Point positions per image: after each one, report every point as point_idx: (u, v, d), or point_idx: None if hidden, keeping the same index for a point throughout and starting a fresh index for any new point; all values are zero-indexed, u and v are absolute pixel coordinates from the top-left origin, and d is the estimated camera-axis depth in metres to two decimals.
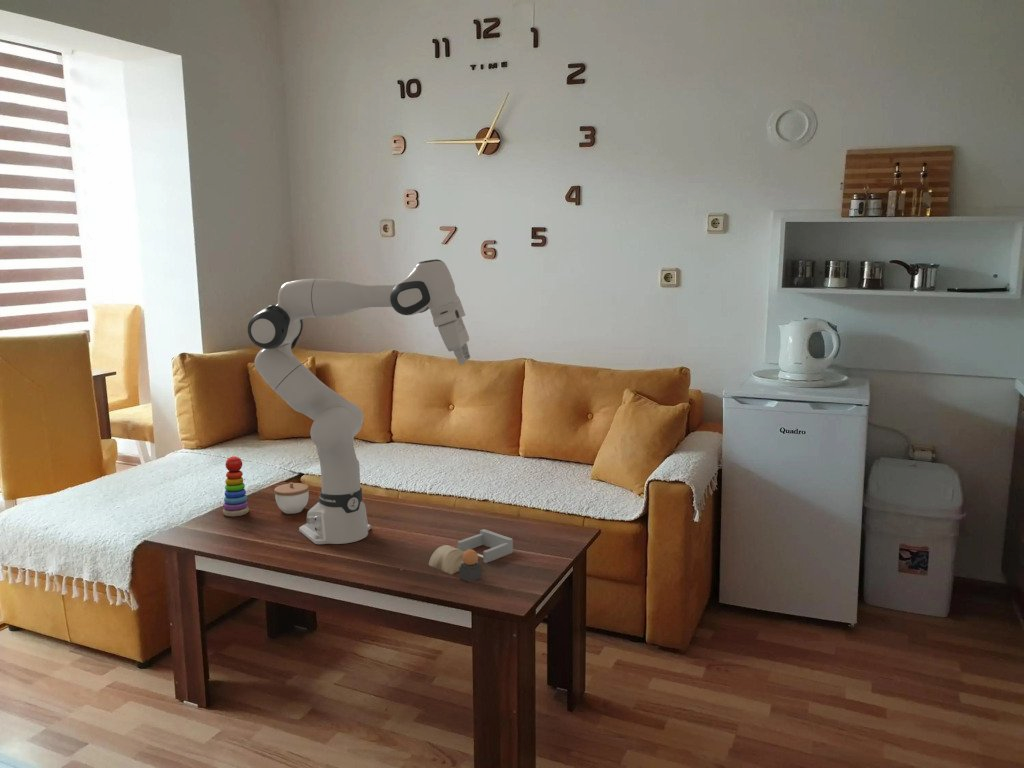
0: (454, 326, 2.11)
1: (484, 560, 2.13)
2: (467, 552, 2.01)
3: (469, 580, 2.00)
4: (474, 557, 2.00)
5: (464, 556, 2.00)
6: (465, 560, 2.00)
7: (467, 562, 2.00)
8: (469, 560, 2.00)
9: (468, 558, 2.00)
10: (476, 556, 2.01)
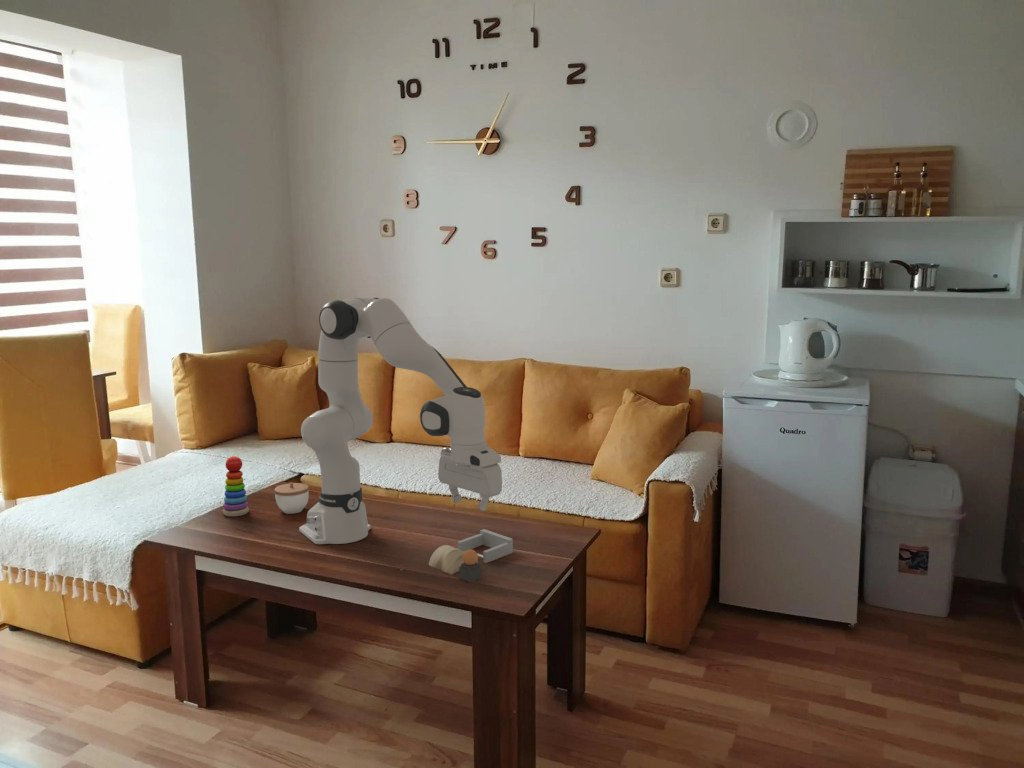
0: (500, 470, 1.93)
1: (484, 560, 2.13)
2: (467, 552, 2.01)
3: (469, 580, 2.00)
4: (474, 557, 2.00)
5: (464, 556, 2.00)
6: (465, 560, 2.00)
7: (467, 562, 2.00)
8: (469, 560, 2.00)
9: (468, 558, 2.00)
10: (476, 556, 2.01)
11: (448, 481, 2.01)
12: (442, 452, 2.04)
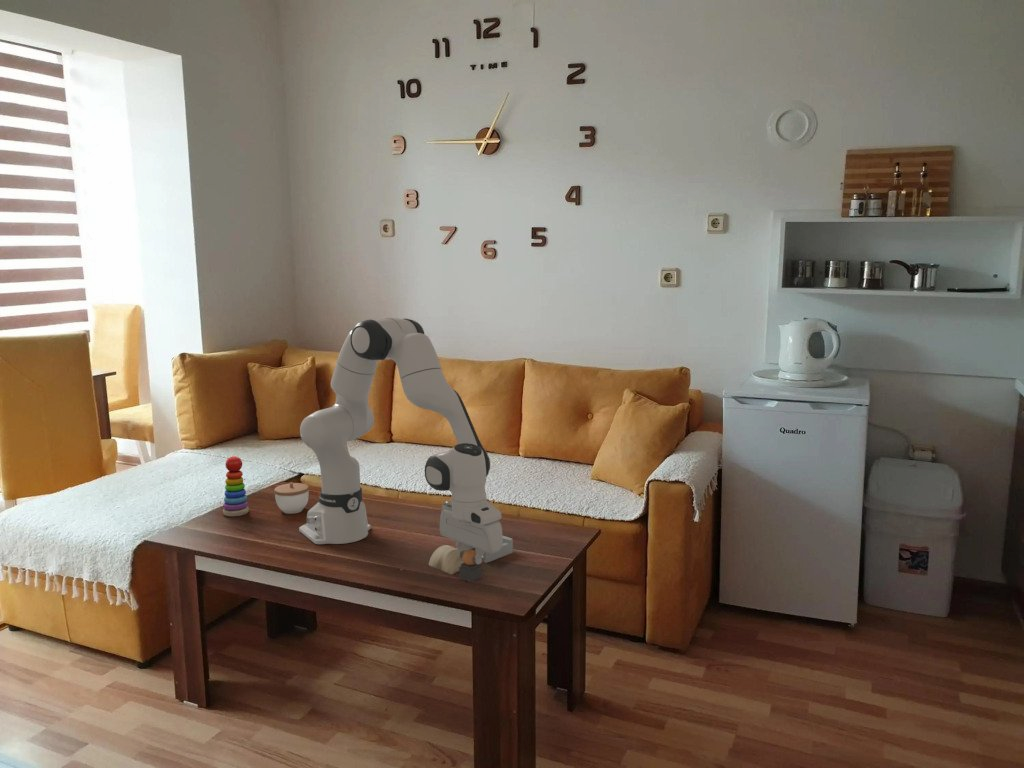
0: (501, 527, 1.95)
1: (484, 560, 2.13)
2: (467, 552, 2.01)
3: (469, 580, 2.00)
4: None
5: (464, 556, 2.00)
6: (465, 560, 2.00)
7: (467, 562, 2.00)
8: (469, 560, 2.00)
9: (468, 558, 2.00)
10: None
11: (449, 536, 2.04)
12: (443, 506, 2.06)
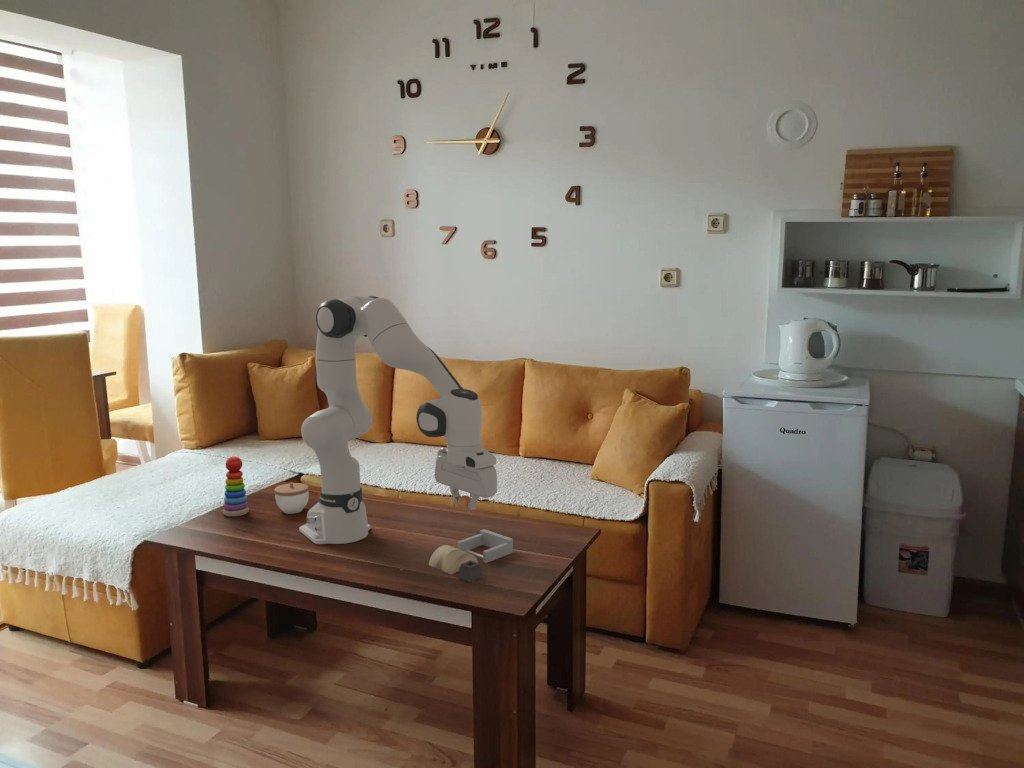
0: (495, 471, 1.95)
1: (484, 560, 2.13)
2: (462, 498, 2.01)
3: (469, 580, 2.00)
4: None
5: (459, 502, 2.00)
6: (460, 506, 2.00)
7: (462, 507, 2.00)
8: (463, 505, 2.00)
9: (463, 504, 2.00)
10: None
11: (444, 482, 2.04)
12: (439, 452, 2.06)
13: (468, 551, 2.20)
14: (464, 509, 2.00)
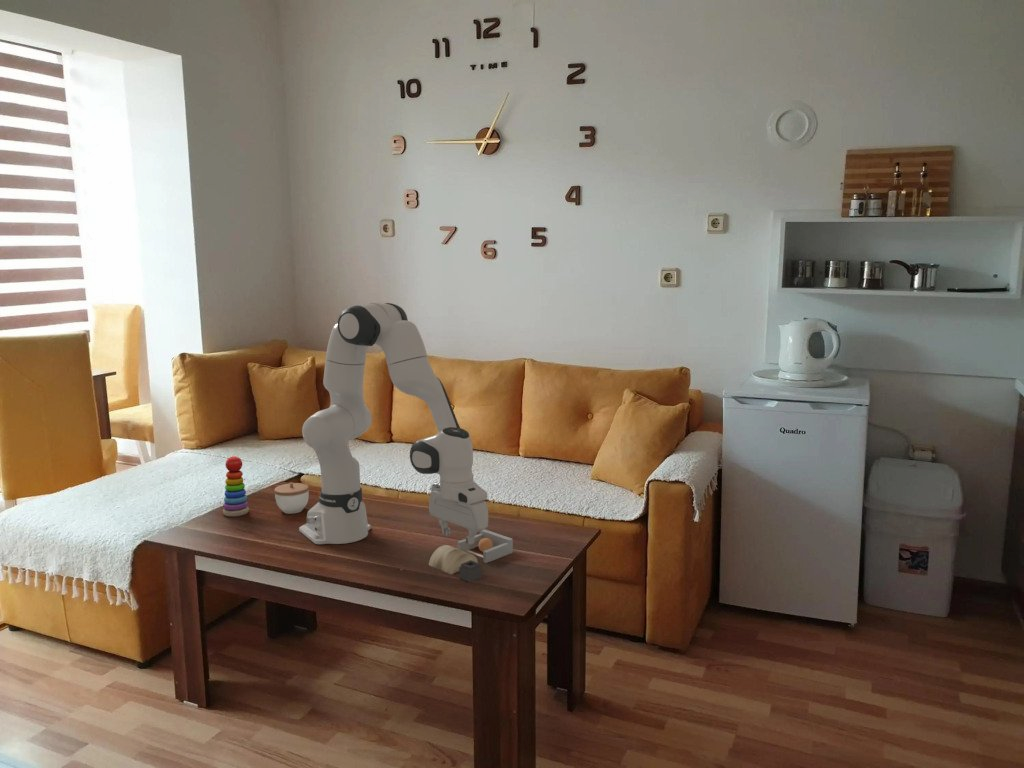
0: (487, 506, 2.05)
1: (484, 560, 2.13)
2: (483, 541, 2.18)
3: (469, 580, 2.00)
4: (489, 545, 2.18)
5: (480, 545, 2.18)
6: (481, 548, 2.18)
7: (483, 550, 2.18)
8: (484, 548, 2.18)
9: (484, 547, 2.18)
10: (491, 544, 2.19)
11: (438, 515, 2.14)
12: (432, 487, 2.16)
13: (468, 551, 2.20)
14: None
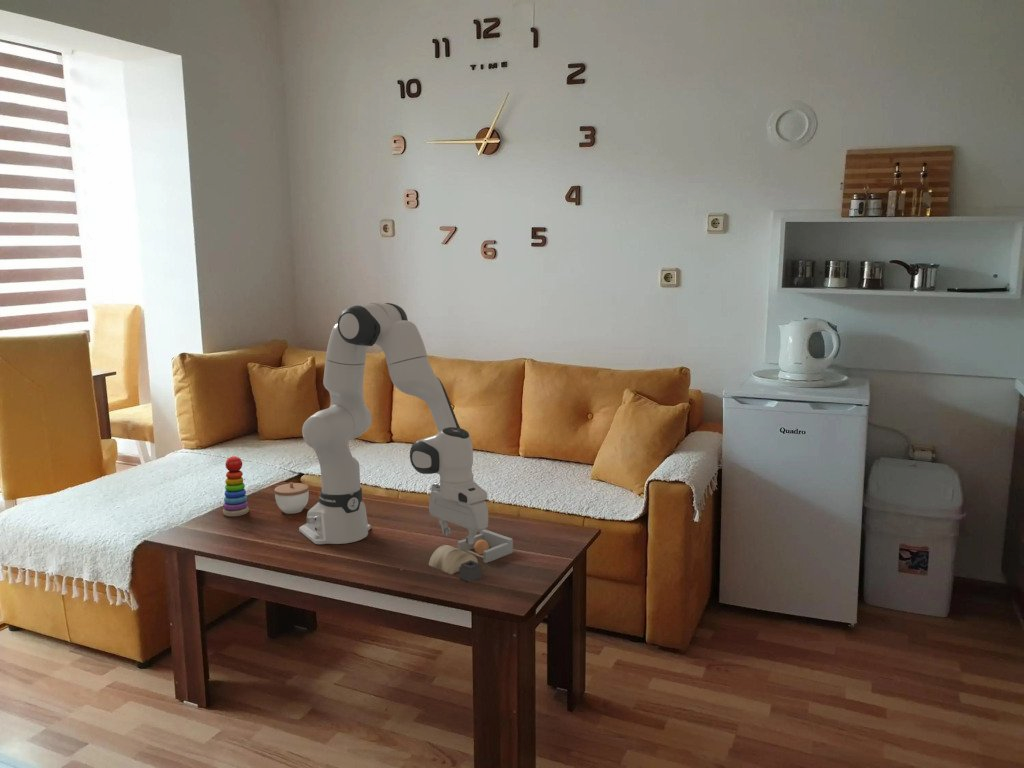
0: (487, 506, 2.05)
1: (484, 560, 2.13)
2: (476, 548, 2.17)
3: (469, 580, 2.00)
4: (484, 549, 2.17)
5: (476, 551, 2.18)
6: (479, 553, 2.18)
7: None
8: (482, 553, 2.17)
9: (481, 552, 2.17)
10: (485, 546, 2.17)
11: (438, 515, 2.14)
12: (432, 487, 2.16)
13: (468, 551, 2.20)
14: None
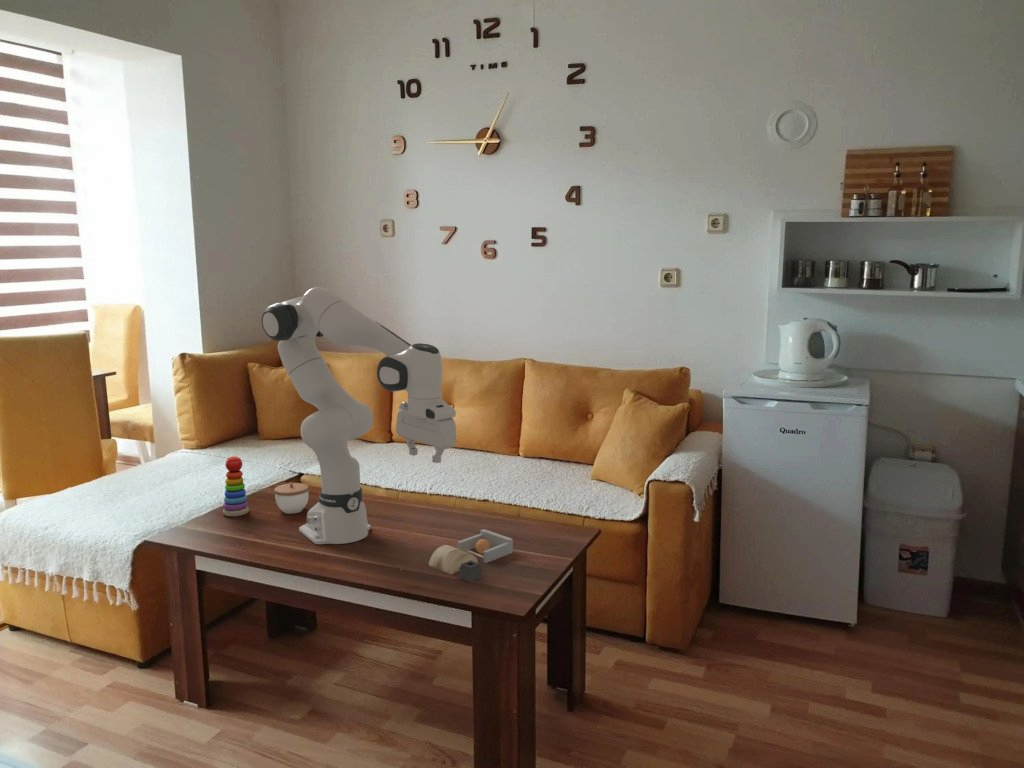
0: (454, 424, 2.01)
1: (484, 560, 2.13)
2: (478, 546, 2.17)
3: (469, 580, 2.00)
4: (486, 548, 2.17)
5: (477, 549, 2.18)
6: (479, 552, 2.18)
7: (482, 553, 2.18)
8: (482, 552, 2.17)
9: (482, 551, 2.17)
10: (487, 545, 2.18)
11: (405, 435, 2.09)
12: (400, 406, 2.11)
13: (468, 551, 2.20)
14: None
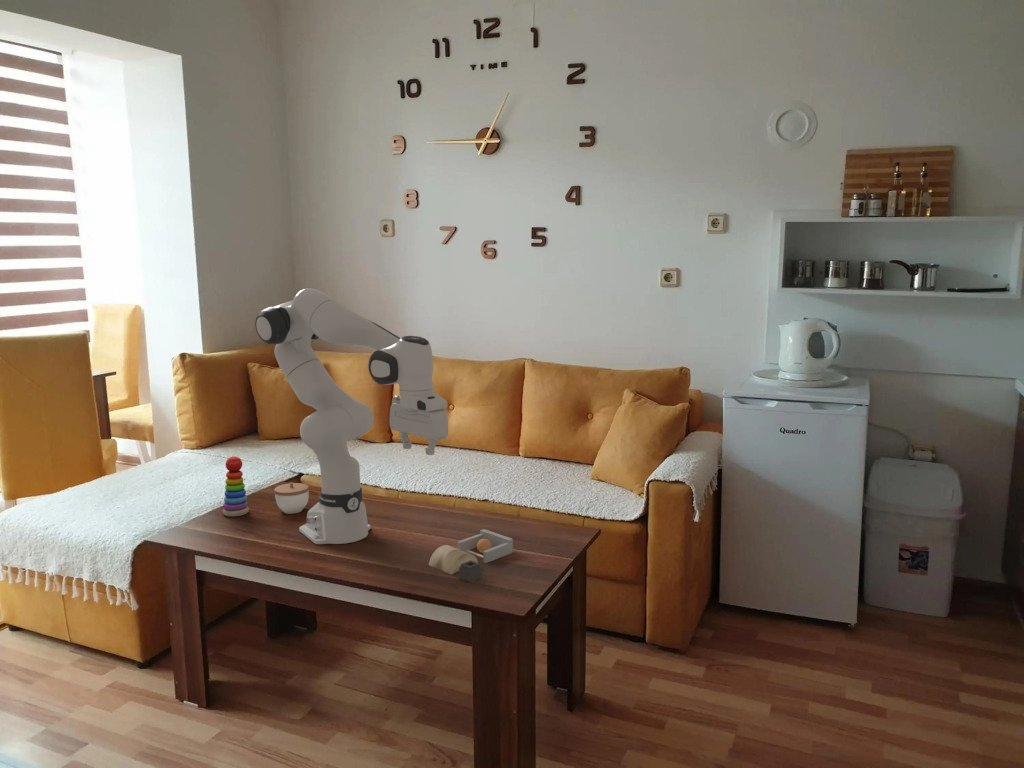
0: (446, 415, 2.00)
1: (484, 560, 2.13)
2: (480, 543, 2.18)
3: (469, 580, 2.00)
4: (487, 547, 2.17)
5: (478, 547, 2.18)
6: (480, 551, 2.18)
7: (482, 552, 2.18)
8: (483, 550, 2.17)
9: (483, 549, 2.17)
10: (489, 545, 2.18)
11: (398, 428, 2.08)
12: (393, 400, 2.11)
13: (468, 551, 2.20)
14: None
